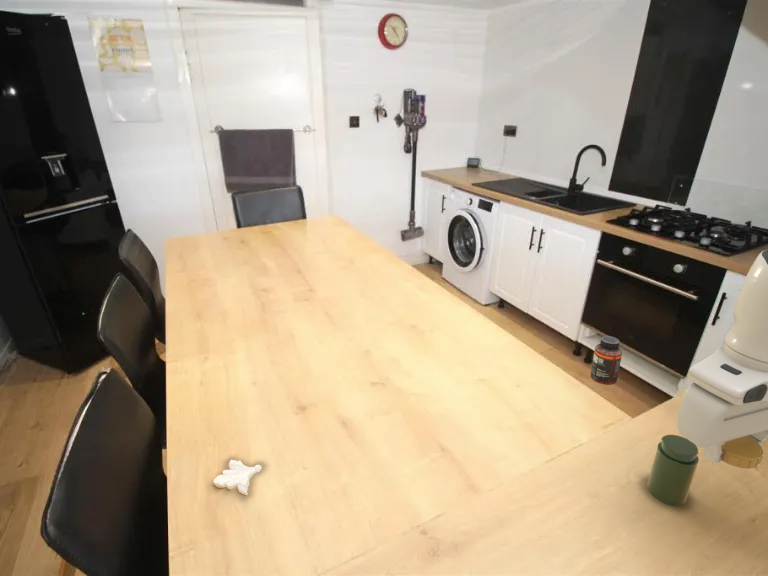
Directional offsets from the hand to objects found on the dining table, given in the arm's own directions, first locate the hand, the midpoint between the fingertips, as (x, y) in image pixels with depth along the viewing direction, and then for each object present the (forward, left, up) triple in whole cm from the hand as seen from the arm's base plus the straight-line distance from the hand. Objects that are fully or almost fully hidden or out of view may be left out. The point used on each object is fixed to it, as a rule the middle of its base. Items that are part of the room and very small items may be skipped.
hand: (731, 453), depth 58 cm
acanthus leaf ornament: (+64, +44, -15) cm, 79 cm away
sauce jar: (+6, -4, -15) cm, 17 cm away
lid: (0, 0, +2) cm, 2 cm away
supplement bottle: (+25, -34, -15) cm, 45 cm away
